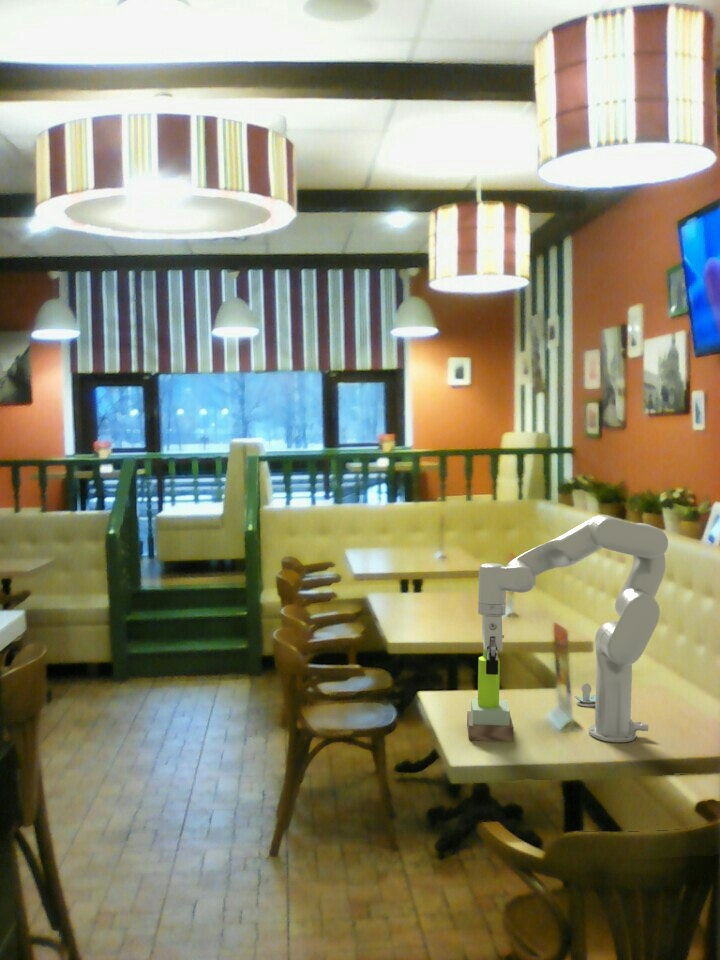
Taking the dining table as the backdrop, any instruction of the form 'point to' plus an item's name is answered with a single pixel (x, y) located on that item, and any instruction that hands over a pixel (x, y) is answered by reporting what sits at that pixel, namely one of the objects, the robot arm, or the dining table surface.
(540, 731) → the dining table surface
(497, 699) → the soap dispenser
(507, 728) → the riser base
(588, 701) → the pacifier
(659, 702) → the dining table surface
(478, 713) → the pale green square tile
